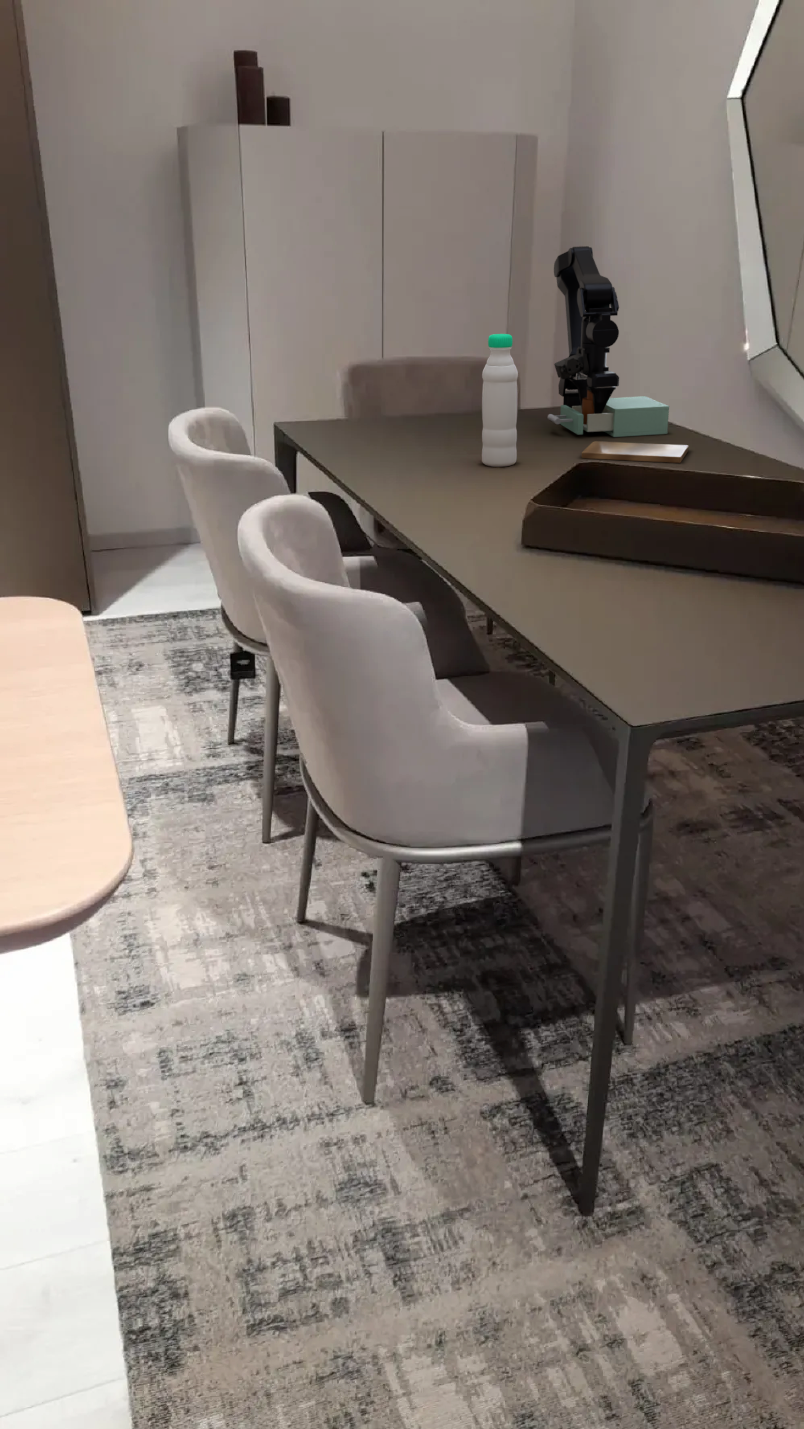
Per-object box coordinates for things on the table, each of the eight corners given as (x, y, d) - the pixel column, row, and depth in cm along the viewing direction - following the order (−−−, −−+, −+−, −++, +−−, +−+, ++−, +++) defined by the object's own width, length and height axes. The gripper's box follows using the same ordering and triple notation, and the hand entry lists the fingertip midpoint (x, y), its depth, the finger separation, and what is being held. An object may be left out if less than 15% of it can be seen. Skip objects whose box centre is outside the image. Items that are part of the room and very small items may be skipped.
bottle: (579, 424, 250) (581, 388, 247) (583, 421, 254) (585, 385, 250) (597, 425, 249) (599, 388, 245) (600, 421, 252) (602, 385, 249)
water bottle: (514, 467, 220) (516, 336, 210) (479, 467, 222) (479, 336, 211) (518, 460, 226) (520, 332, 216) (484, 459, 228) (484, 332, 217)
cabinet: (613, 437, 246) (615, 409, 243) (592, 425, 259) (594, 399, 256) (667, 433, 248) (669, 406, 245) (644, 422, 261) (645, 396, 258)
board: (581, 458, 227) (581, 452, 226) (593, 446, 237) (593, 441, 236) (680, 463, 220) (680, 457, 220) (688, 451, 230) (688, 445, 230)
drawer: (559, 435, 244) (560, 416, 243) (542, 425, 256) (543, 406, 255) (627, 431, 246) (628, 412, 245) (607, 421, 258) (608, 402, 257)
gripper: (546, 339, 251) (545, 409, 258) (571, 349, 234) (569, 423, 241) (593, 337, 253) (590, 407, 259) (621, 346, 236) (617, 420, 242)
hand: (590, 414), depth 250 cm, fingers open, 9 cm apart
